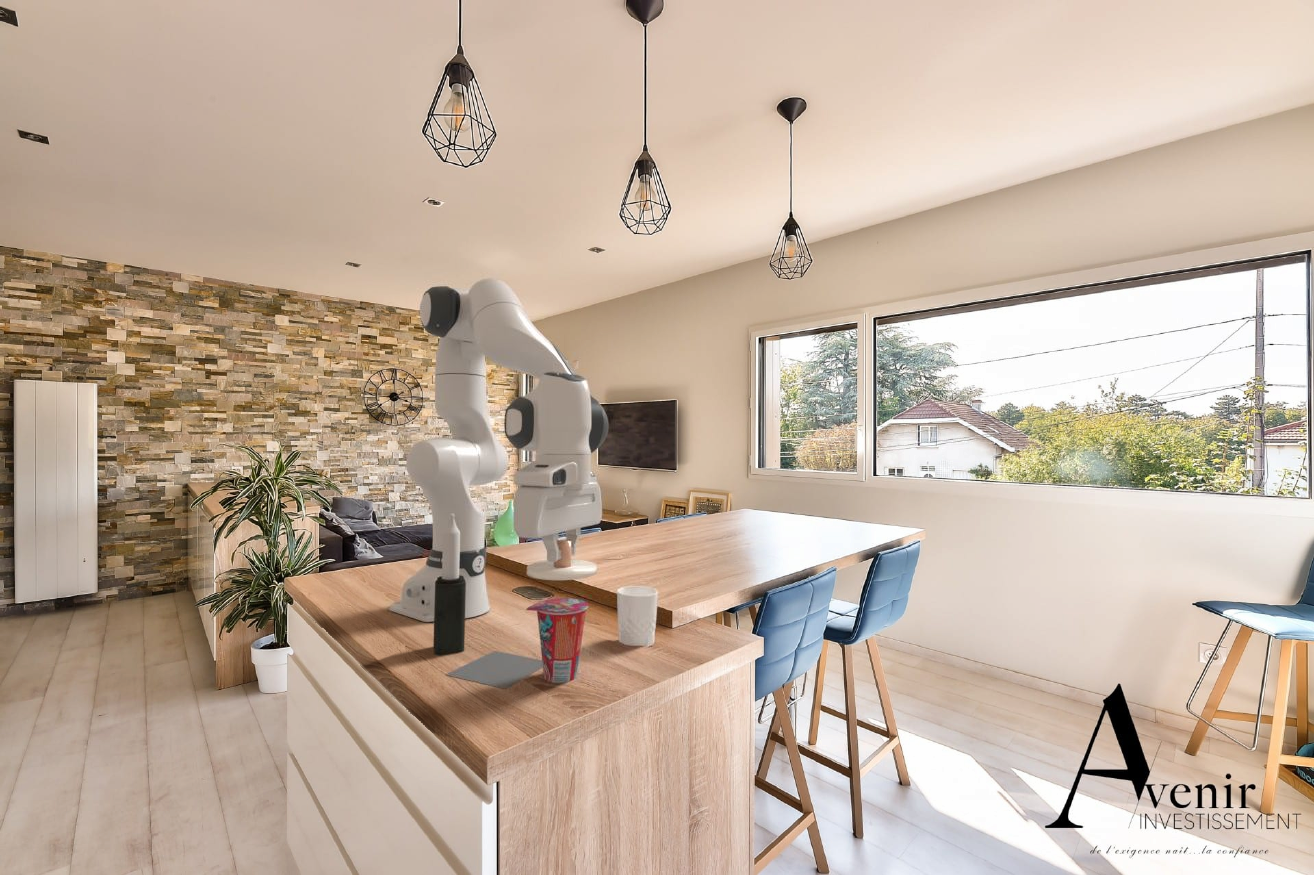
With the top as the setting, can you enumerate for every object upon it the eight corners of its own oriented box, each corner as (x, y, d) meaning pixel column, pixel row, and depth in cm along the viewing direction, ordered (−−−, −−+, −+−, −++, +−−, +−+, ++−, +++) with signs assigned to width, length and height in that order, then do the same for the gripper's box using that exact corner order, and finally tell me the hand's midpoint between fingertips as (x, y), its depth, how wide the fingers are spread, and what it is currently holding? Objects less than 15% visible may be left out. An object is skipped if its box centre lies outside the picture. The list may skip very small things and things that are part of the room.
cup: (562, 665, 97) (564, 595, 98) (597, 678, 92) (598, 604, 92) (517, 681, 90) (519, 606, 90) (552, 697, 85) (554, 617, 85)
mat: (445, 678, 91) (445, 674, 91) (495, 654, 102) (495, 650, 102) (505, 692, 86) (505, 688, 86) (550, 665, 97) (550, 662, 97)
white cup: (652, 651, 105) (653, 597, 105) (611, 648, 106) (612, 594, 107) (660, 637, 112) (661, 587, 113) (622, 634, 114) (623, 584, 114)
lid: (512, 575, 88) (512, 543, 88) (552, 563, 98) (553, 534, 98) (573, 583, 84) (573, 549, 84) (609, 569, 94) (609, 538, 94)
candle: (433, 649, 104) (436, 512, 104) (462, 645, 106) (465, 511, 106) (434, 658, 99) (437, 515, 100) (464, 655, 101) (468, 514, 102)
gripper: (580, 470, 102) (579, 547, 102) (506, 474, 83) (504, 568, 83) (611, 471, 99) (610, 550, 99) (542, 475, 81) (540, 573, 80)
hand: (561, 559), depth 91 cm, fingers closed on lid, 3 cm apart
